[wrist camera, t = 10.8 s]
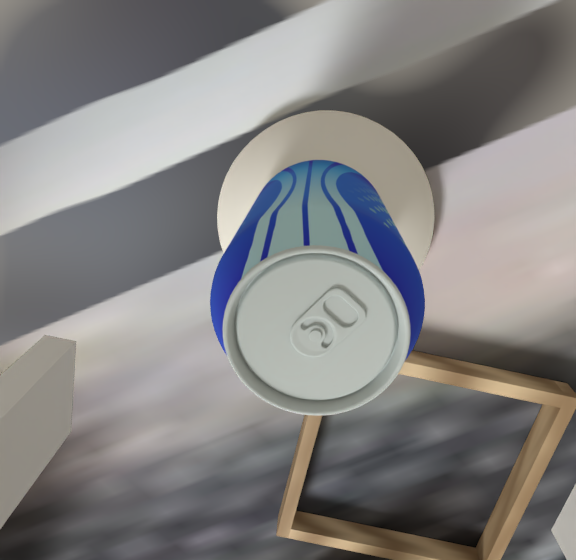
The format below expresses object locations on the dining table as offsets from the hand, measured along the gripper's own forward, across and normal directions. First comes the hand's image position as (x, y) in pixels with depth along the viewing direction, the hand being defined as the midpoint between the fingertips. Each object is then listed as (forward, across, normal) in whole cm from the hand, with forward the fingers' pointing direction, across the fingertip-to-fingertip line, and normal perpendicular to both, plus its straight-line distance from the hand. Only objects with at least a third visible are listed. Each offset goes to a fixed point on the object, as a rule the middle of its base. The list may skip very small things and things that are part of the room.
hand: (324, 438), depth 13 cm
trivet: (+22, 0, 0) cm, 22 cm away
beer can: (+21, 0, 0) cm, 21 cm away
